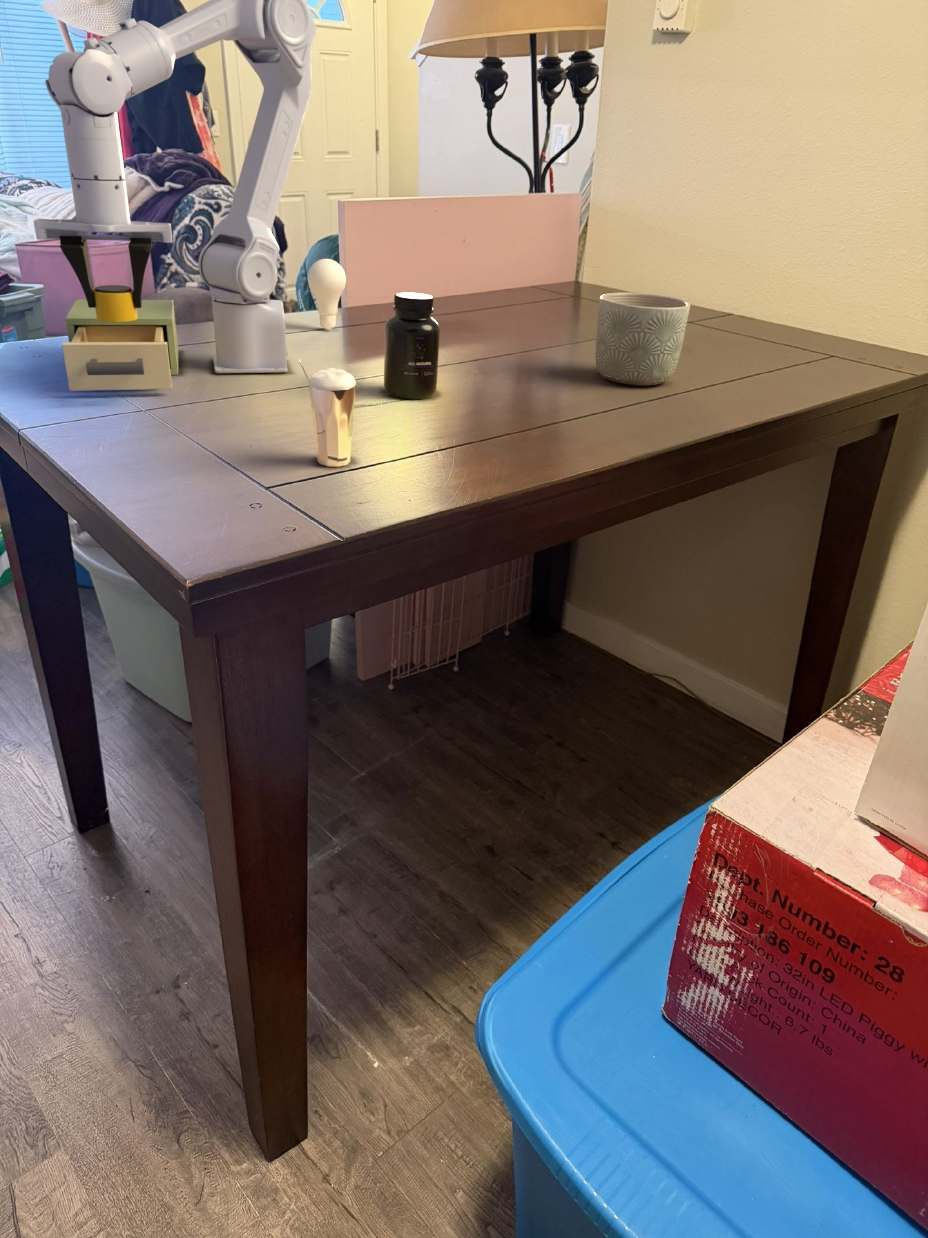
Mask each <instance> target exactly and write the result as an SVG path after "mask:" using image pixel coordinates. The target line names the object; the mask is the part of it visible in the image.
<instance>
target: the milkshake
mask: <svg viewBox="0 0 928 1238" xmlns="http://www.w3.org/2000/svg"><path fill="white" fill-rule="evenodd" d="M298 362H299V365H300V366H301V368H302V371H303V373H304V375H305V377H306V379H307V382H308V391H309V398H310V405H311V415H312V421H313V422H312V423H313V433H314V434H313V435H314V444H315V451H316V461H317V462H318V463H319V465H321V466H325V467H329V468H331V467H335V468H337V467H338V468H339V467H343V466H347V465H348V464H349V463H351V457H352V456H351V455H352V441H353V426H354V425H353V424H354V409H355V399H356V398H355V397H356V389H357V388H356V387H357V381H356V379H355V377H354V375H352V374H351V373H350V372H349V371H348V372H347V371H346V370H345V369H342V368H334V367H328V368H326V369H320V370H317V371H316V372H314V373H313V374H312V375H311V376H308V374H307V373H306V371H305V368H304V366H303V364H302V362H301V360H300V359H298Z"/></svg>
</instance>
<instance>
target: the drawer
mask: <svg viewBox="0 0 928 1238" xmlns="http://www.w3.org/2000/svg"><path fill="white" fill-rule="evenodd" d="M61 348H62V354H63V359H64V365H65V371H66V378H67V383H68V389H69V391H70V392H75V391H76V392H82V391H83V392H84V391H86V392H87V391H137V390H138V391H139V390H141V391H142V390H144V391H145V390H172V389H173V384H172V383H173V382H172V375H171V373H170V364H169V355H168V346H167V342H165V341H164V332H163V325H79V327H78V329H77V331H76V333H75V335H74V337H73V339H72V341H71V342H69V341H67V342H66V341H64V342H62V344H61Z"/></svg>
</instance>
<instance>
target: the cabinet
mask: <svg viewBox="0 0 928 1238" xmlns="http://www.w3.org/2000/svg"><path fill="white" fill-rule="evenodd" d="M136 309H137V317H138V318H137V319H136V320H134V321H129V322H104V321H100V320H98V319H97V317H96V310H95V308H89V307H88V303H87V299H86V298H82V299H81V298H75V301H74V303H73V304H72V306H71V308H70V309H69V311H68V313H67V314H66V317H65V319H64V321H65V325H66V332H67V338H68V342H71V341H72V339H73V337H74V335H75V333H76V331H77V329H78V327H79V325H163V332H164V341H165V342H167V346H168V355H169V364H170V373H171V376H178V375H179V345H178V344H179V343H178V336H177V335H178V333H177V326H176V325H177V324H176V314H175V307H174V299H142V307H141V308H136Z"/></svg>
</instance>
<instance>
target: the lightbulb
mask: <svg viewBox="0 0 928 1238" xmlns="http://www.w3.org/2000/svg"><path fill="white" fill-rule="evenodd" d="M307 283H308V286H309V288H310V291H311V292H312V295H313V296H314V298H315V301H316V305H317V312H318V315H319V322H320V323H319V325H320V326H321V327H322V328H324V330H326V331H331V330H332V329H333V328H335V327H336V324H337V314H338V307H339V301H340V298H341V297H342V294H343V292H344V291H345V288H346V283H347V276H346V272H345V270H344V268H343V267H342V266H341V264H339V263H338V262H337V261H335V260H334V259H330V258H322V259H321V258H320V259H319V260H316V261H315V262H314V263H312V265H310V268H309V270H308V272H307Z"/></svg>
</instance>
